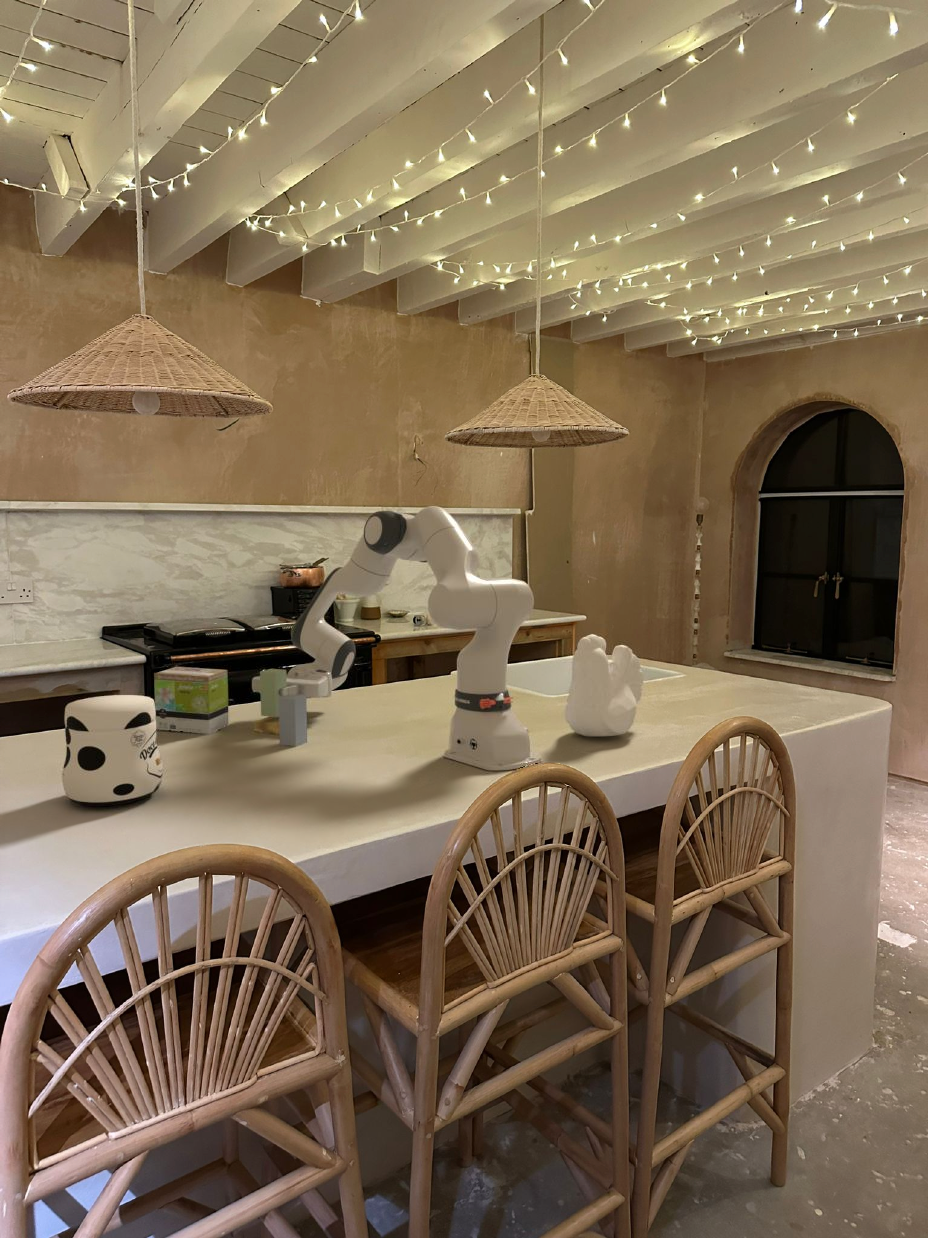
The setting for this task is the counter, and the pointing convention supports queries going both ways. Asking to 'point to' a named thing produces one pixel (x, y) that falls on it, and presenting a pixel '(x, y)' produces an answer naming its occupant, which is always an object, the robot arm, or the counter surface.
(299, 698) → the slate block
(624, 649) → the decorative rooster
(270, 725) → the ochre slab
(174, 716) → the tea box
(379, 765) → the counter surface
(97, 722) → the spotted treat jar
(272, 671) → the green block
